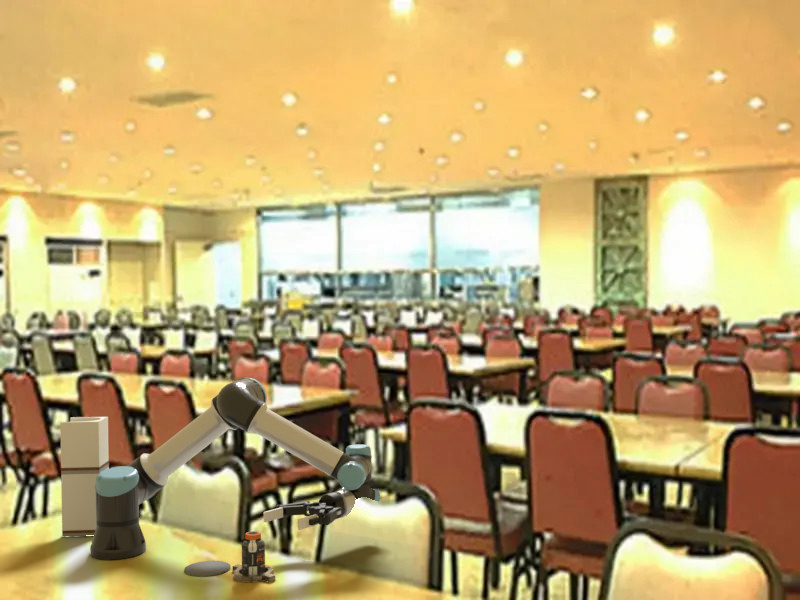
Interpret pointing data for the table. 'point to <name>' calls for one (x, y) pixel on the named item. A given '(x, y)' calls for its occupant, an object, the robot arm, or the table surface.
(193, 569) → the coaster
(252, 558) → the pill bottle
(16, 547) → the table surface
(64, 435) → the beige tall box
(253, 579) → the collar
